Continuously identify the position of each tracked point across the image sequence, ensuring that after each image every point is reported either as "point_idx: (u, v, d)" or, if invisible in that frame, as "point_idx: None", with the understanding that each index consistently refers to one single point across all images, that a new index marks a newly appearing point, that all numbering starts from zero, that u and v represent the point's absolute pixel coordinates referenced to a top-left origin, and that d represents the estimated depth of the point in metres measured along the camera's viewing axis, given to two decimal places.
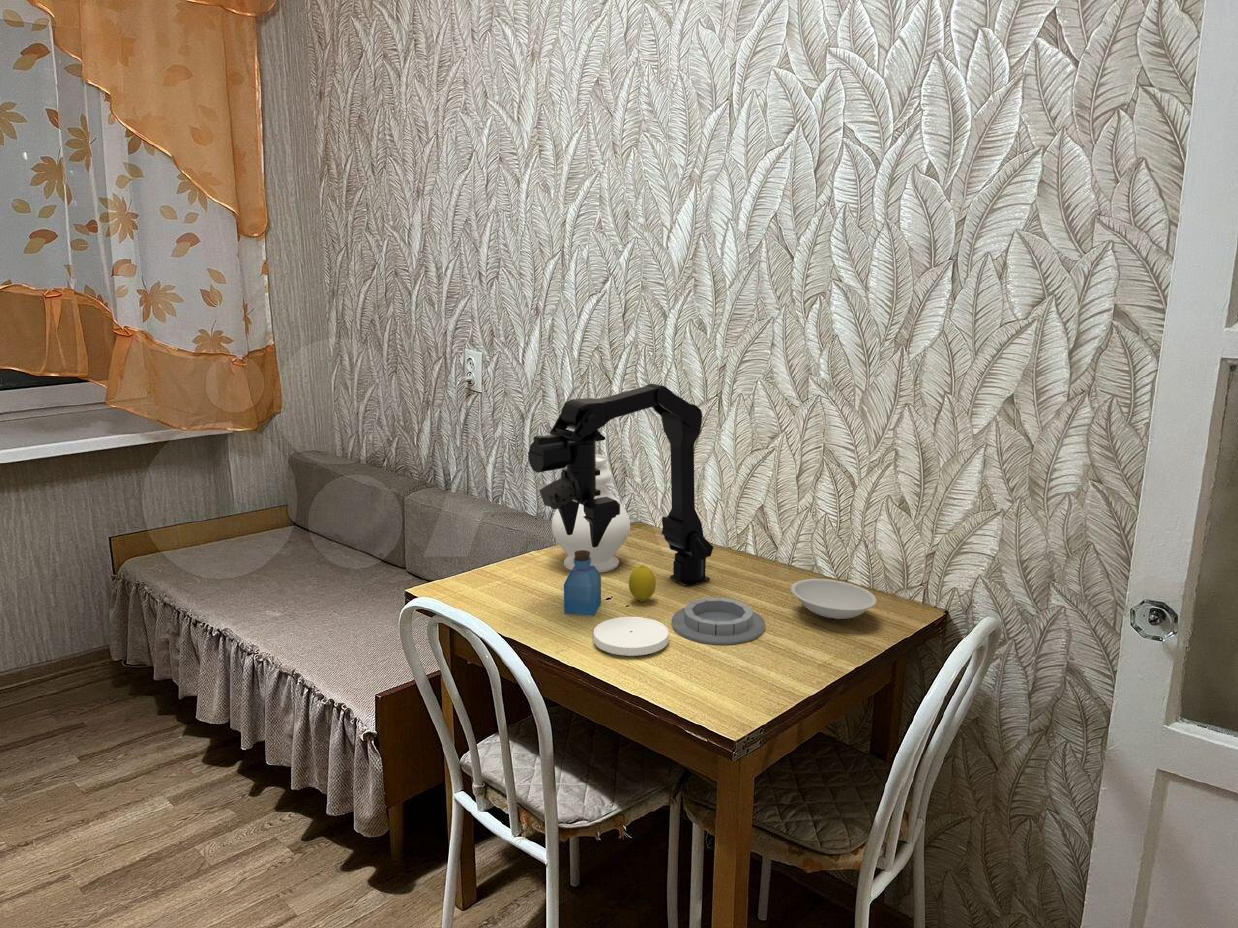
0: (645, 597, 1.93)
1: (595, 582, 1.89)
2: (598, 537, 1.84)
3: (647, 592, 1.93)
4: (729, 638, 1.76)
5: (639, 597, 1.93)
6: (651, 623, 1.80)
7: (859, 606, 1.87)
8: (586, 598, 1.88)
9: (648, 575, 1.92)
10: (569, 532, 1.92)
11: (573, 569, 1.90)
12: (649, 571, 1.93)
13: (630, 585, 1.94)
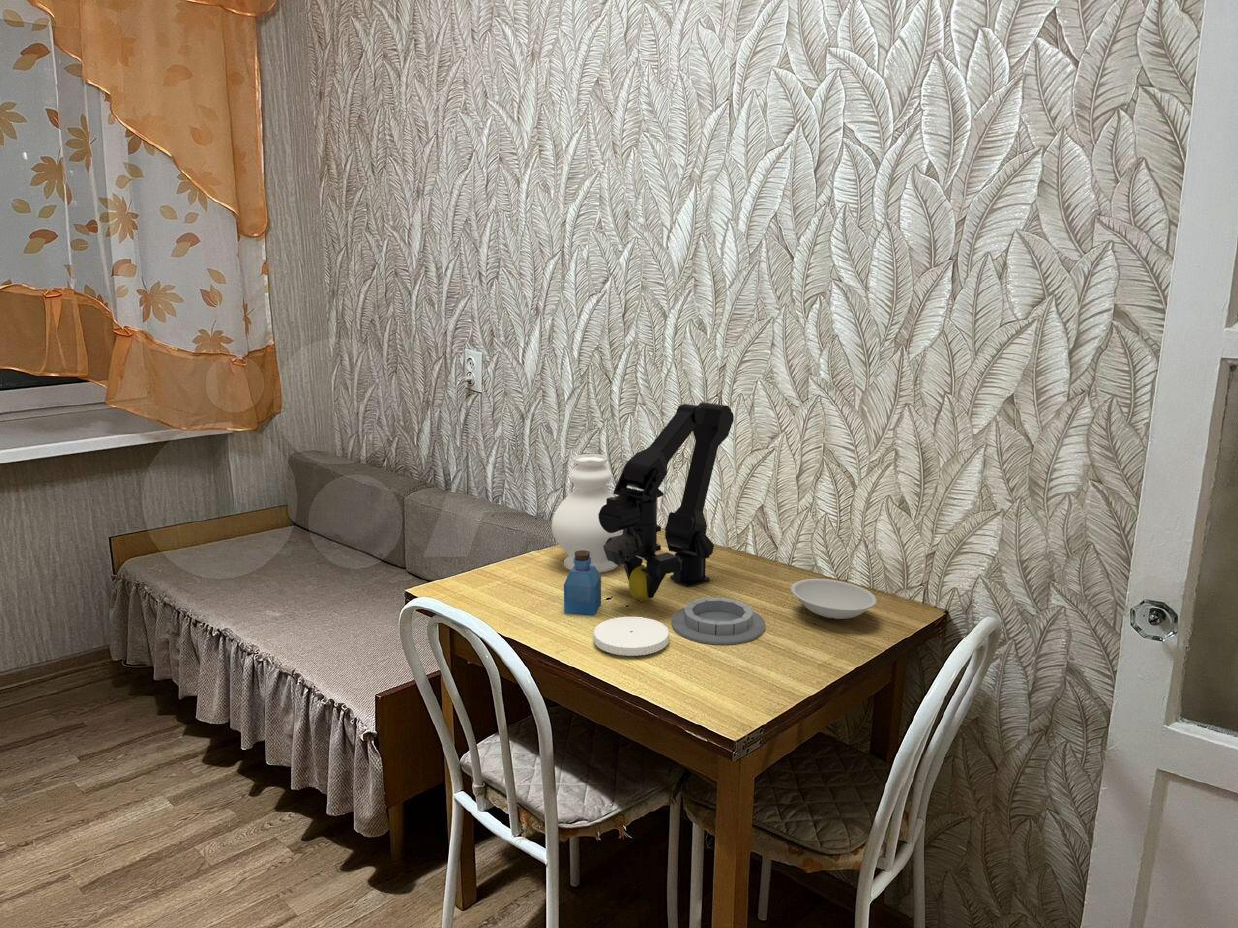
0: (645, 597, 1.93)
1: (595, 582, 1.89)
2: (654, 588, 1.92)
3: None
4: (729, 638, 1.76)
5: (639, 597, 1.93)
6: (651, 623, 1.80)
7: (859, 606, 1.87)
8: (586, 598, 1.88)
9: None
10: None
11: (573, 569, 1.90)
12: None
13: (630, 585, 1.94)
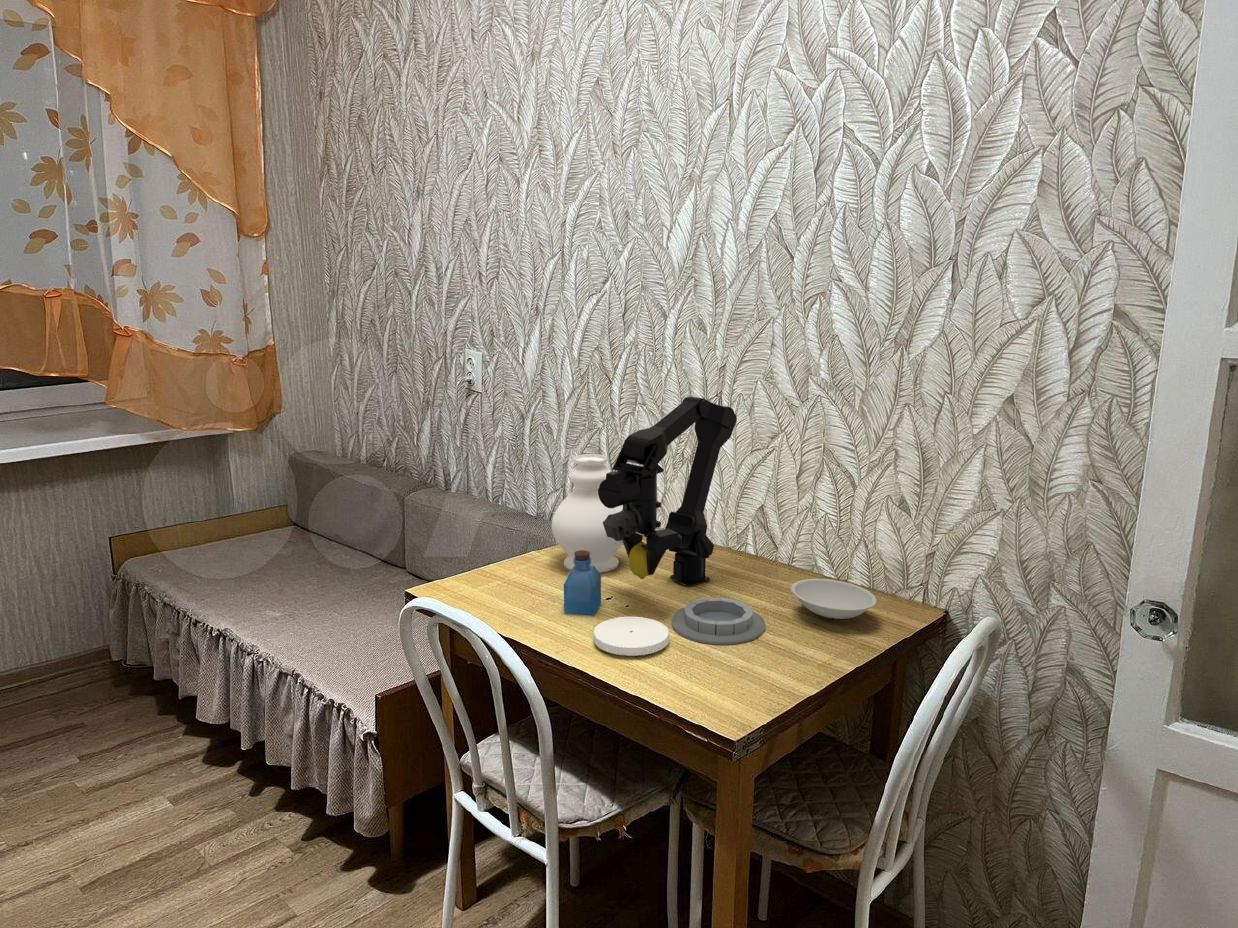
0: (645, 574, 1.92)
1: (595, 582, 1.89)
2: (654, 565, 1.91)
3: None
4: (729, 638, 1.76)
5: (639, 574, 1.92)
6: (651, 623, 1.80)
7: (859, 606, 1.87)
8: (586, 598, 1.88)
9: None
10: None
11: (573, 569, 1.90)
12: None
13: (630, 562, 1.92)
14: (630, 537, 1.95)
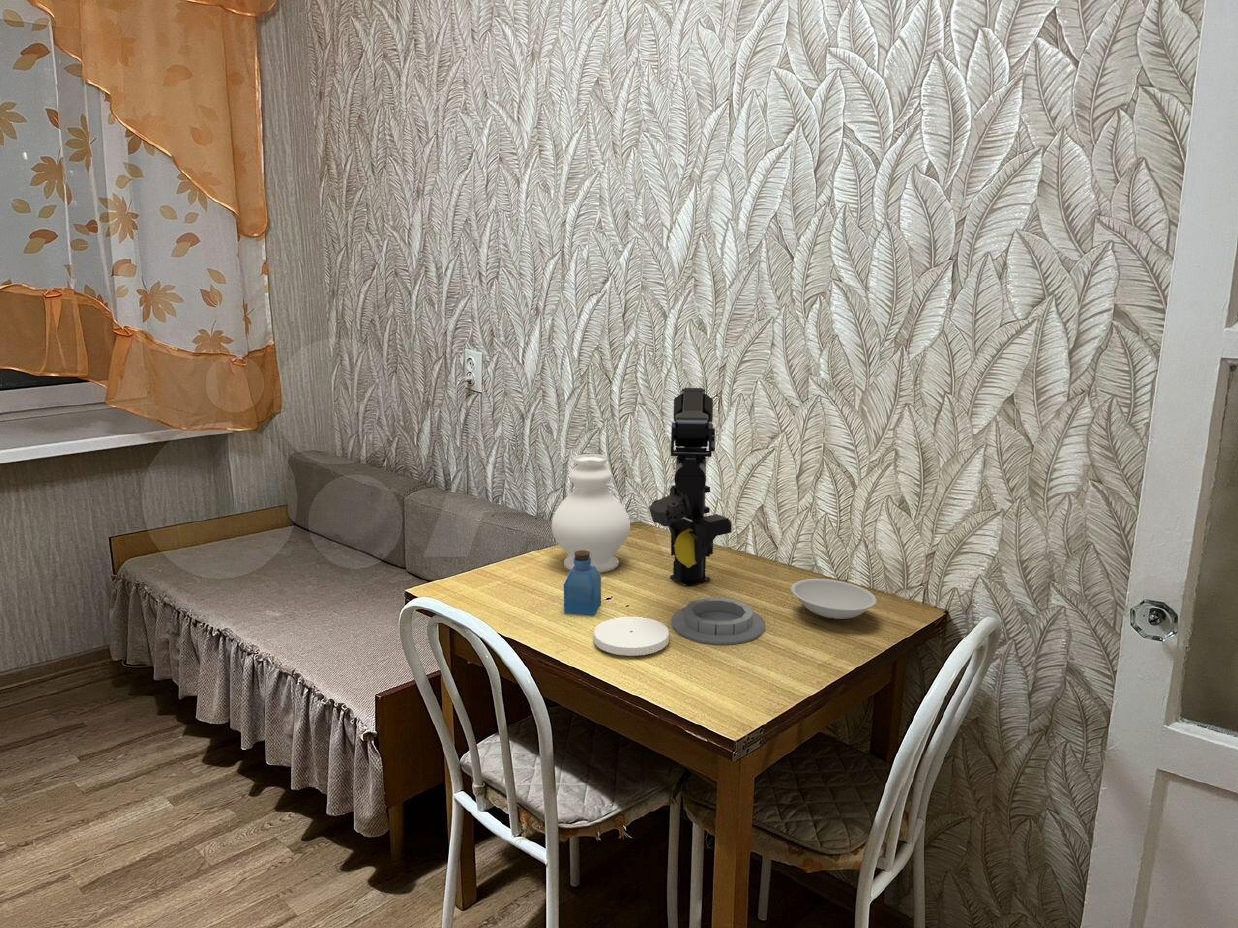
0: (692, 562, 1.83)
1: (595, 582, 1.89)
2: (703, 553, 1.82)
3: (694, 557, 1.82)
4: (729, 638, 1.76)
5: (686, 562, 1.83)
6: (651, 623, 1.80)
7: (859, 606, 1.87)
8: (586, 598, 1.88)
9: None
10: None
11: (573, 569, 1.90)
12: None
13: (676, 549, 1.84)
14: (677, 523, 1.86)
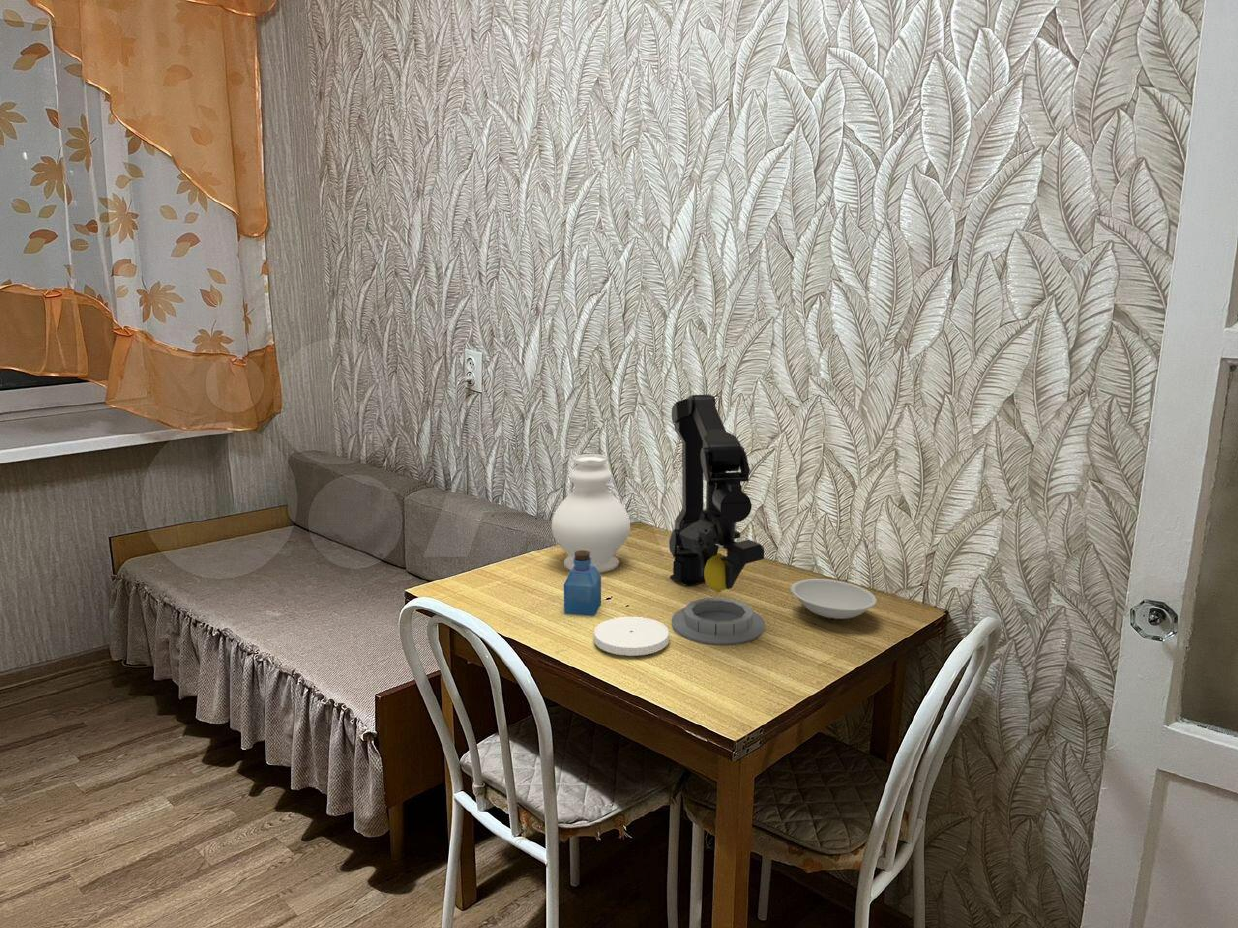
0: (722, 587, 1.80)
1: (595, 582, 1.89)
2: (733, 578, 1.79)
3: (725, 583, 1.80)
4: (729, 638, 1.76)
5: (716, 588, 1.80)
6: (651, 623, 1.80)
7: (859, 606, 1.87)
8: (586, 598, 1.88)
9: None
10: None
11: (573, 569, 1.90)
12: None
13: (706, 575, 1.80)
14: (706, 548, 1.83)
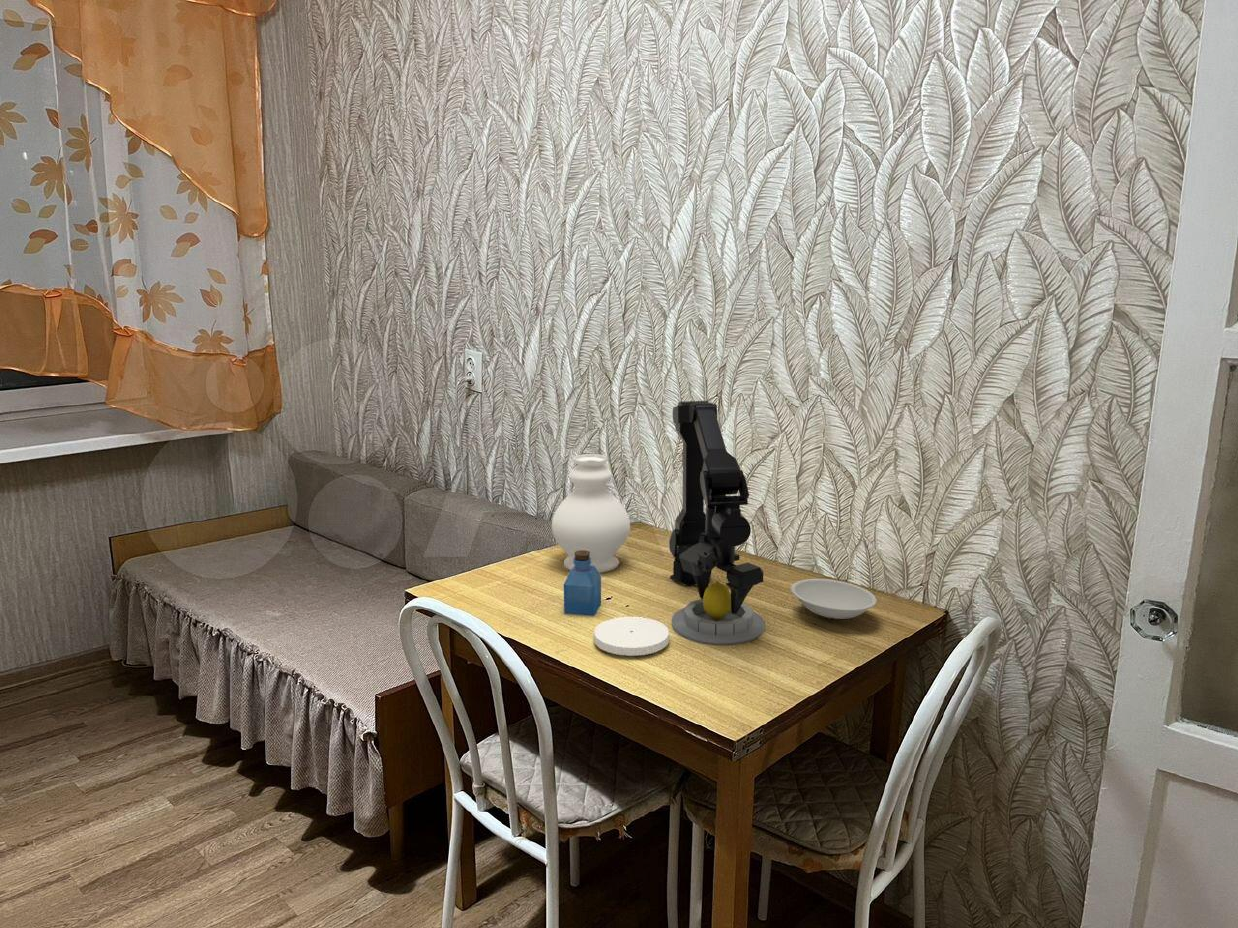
0: (721, 615, 1.82)
1: (595, 582, 1.89)
2: (739, 604, 1.79)
3: (724, 611, 1.81)
4: (729, 638, 1.76)
5: (715, 616, 1.82)
6: (651, 623, 1.80)
7: (859, 606, 1.87)
8: (586, 598, 1.88)
9: (724, 592, 1.81)
10: (703, 595, 1.87)
11: (573, 569, 1.90)
12: (724, 588, 1.82)
13: (705, 603, 1.82)
14: None
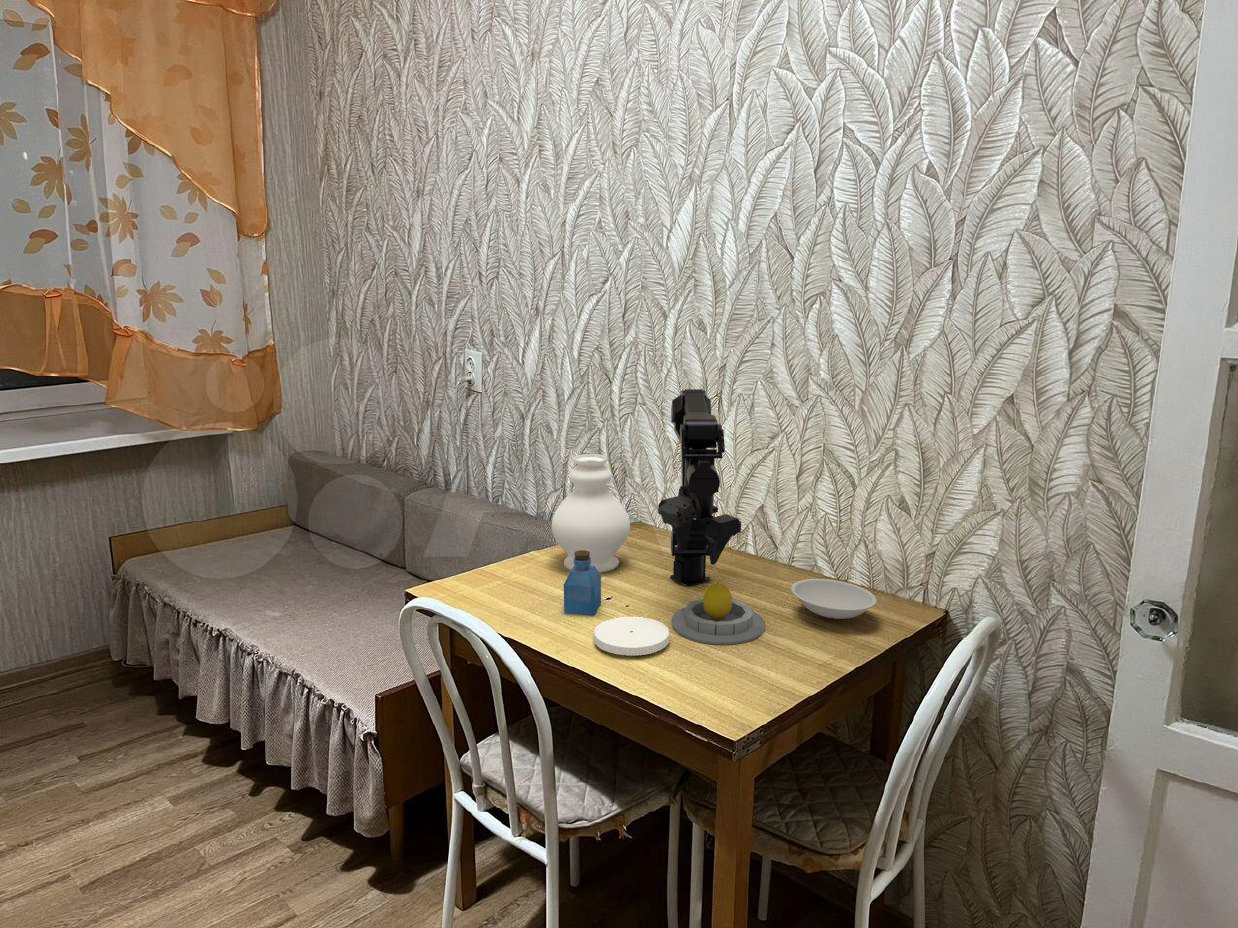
0: (722, 616, 1.81)
1: (595, 582, 1.89)
2: (717, 554, 1.83)
3: (724, 611, 1.81)
4: (729, 638, 1.76)
5: (715, 616, 1.82)
6: (652, 623, 1.80)
7: (859, 606, 1.87)
8: (586, 598, 1.88)
9: (725, 593, 1.81)
10: (682, 547, 1.91)
11: (573, 569, 1.90)
12: (725, 589, 1.81)
13: (705, 604, 1.82)
14: None
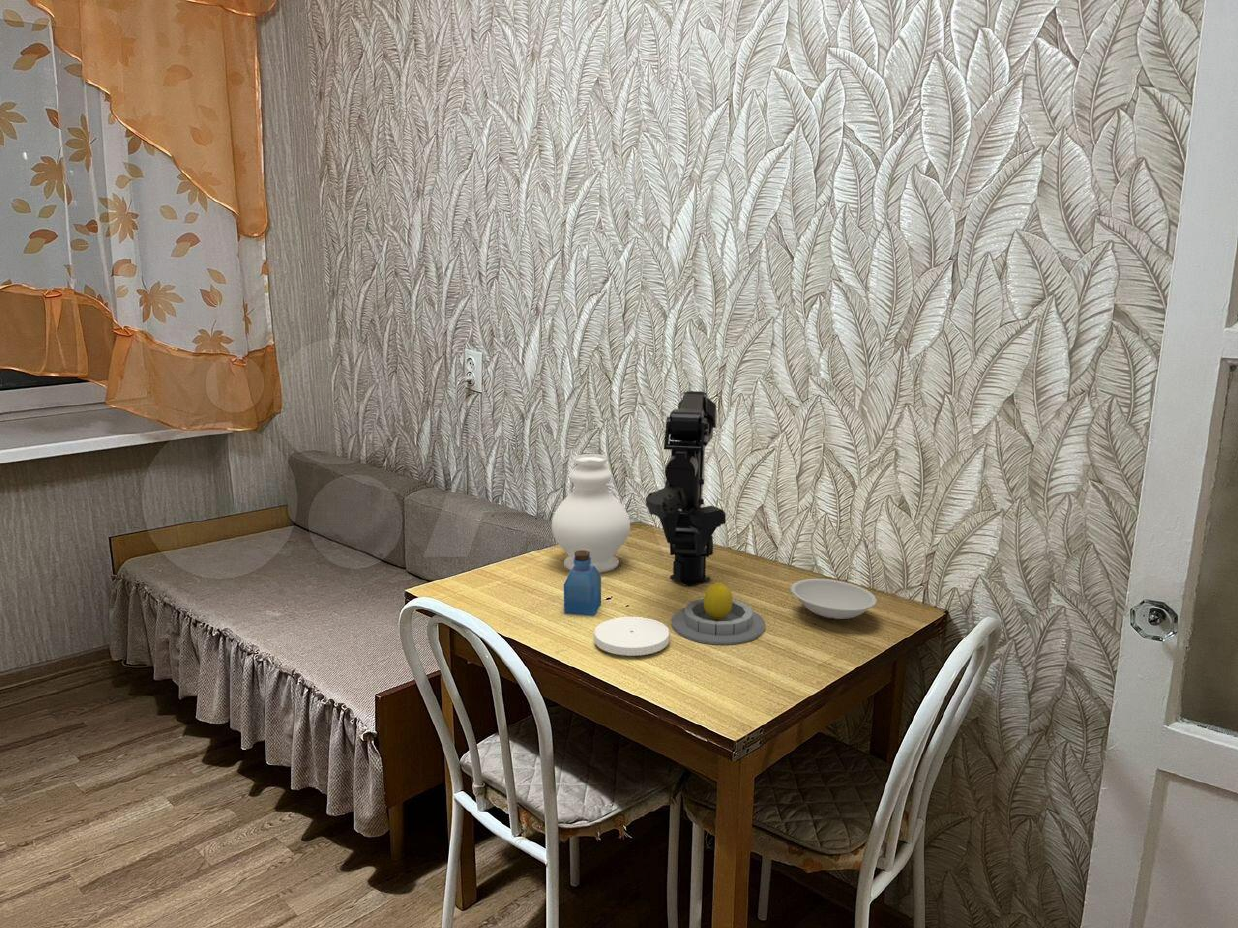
0: (722, 616, 1.81)
1: (595, 582, 1.89)
2: (703, 545, 1.87)
3: (724, 611, 1.81)
4: (729, 638, 1.76)
5: (715, 616, 1.82)
6: (652, 623, 1.80)
7: (859, 606, 1.87)
8: (586, 598, 1.88)
9: (726, 593, 1.81)
10: (670, 540, 1.95)
11: (573, 569, 1.90)
12: (726, 589, 1.81)
13: (706, 604, 1.82)
14: None
